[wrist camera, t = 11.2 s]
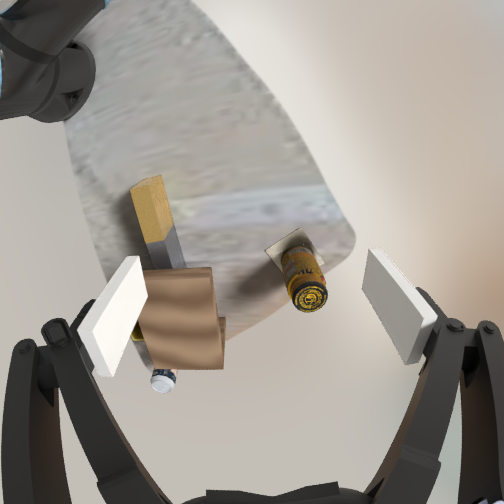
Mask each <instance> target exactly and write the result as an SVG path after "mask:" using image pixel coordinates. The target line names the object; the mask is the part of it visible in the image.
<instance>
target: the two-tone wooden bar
mask: <svg viewBox="0 0 504 504" xmlns="http://www.w3.org/2000/svg"><path fill="white" fill-rule="evenodd" d="M130 193H131V196H132V200H133V203H134V207H135V210H136V214H137V217H138V220H139V224H140V227H141V230H142V233H143V236H144V240H145V243H146V246H147V249H148V252H149V255H150V258H151V261H152V264H153V267H154V269H155V270H160V269H181V268H187V267H186V264H185V261H184V257H183V254H182V251H181V247H180V244H179V240H178V237H177V233H176V229H175V226H174V222H173V218H172V215H171V211H170V207H169V203H168V199H167V195H166V192H165V188H164V184H163V179H162V175H159V176H155V177H151V178H147V179H144V180H142V181H141V182H140V183H138V184H137V185H135V186H134V187H133V188H131V189H130Z"/></svg>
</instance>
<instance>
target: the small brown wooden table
mask: <svg viewBox="0 0 504 504" xmlns="http://www.w3.org/2000/svg"><path fill="white" fill-rule="evenodd" d="M142 272H143V277H144V281H145V286H146V290H147V294H148V297H147V299H146V302H145V304H144V306H143V308H142V310H141V313H140V315H139V317H138V322H139V325H140V328H141V331H142V334H143V337H144V340H145V343H146V345H147V348H148V351H149V354H150V356H151V359H152V362H153V364H154V367H155V369H180V370H208V369H209V370H215V369H223V366H224V347H225V331H226V319H225V317H218V313H217V306H216V299H215V292H214V284H213V276H212V268H211V267H202V268H181V269H160V270H142Z"/></svg>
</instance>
